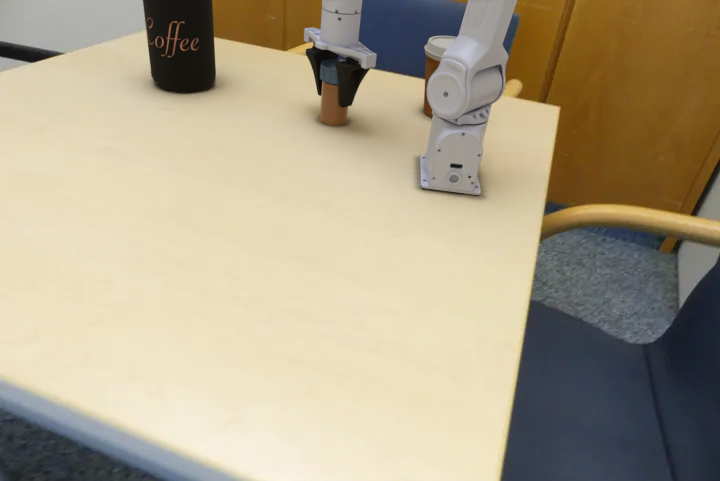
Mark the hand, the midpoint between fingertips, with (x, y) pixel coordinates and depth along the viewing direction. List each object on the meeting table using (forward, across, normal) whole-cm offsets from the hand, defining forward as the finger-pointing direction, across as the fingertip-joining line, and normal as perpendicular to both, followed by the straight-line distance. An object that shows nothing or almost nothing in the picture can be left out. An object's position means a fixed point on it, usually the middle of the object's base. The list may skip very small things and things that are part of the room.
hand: (334, 99), depth 88 cm
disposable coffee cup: (+3, +7, +19) cm, 20 cm away
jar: (+3, 0, 0) cm, 3 cm away
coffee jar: (+4, -25, -13) cm, 28 cm away
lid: (-5, 0, 0) cm, 5 cm away
